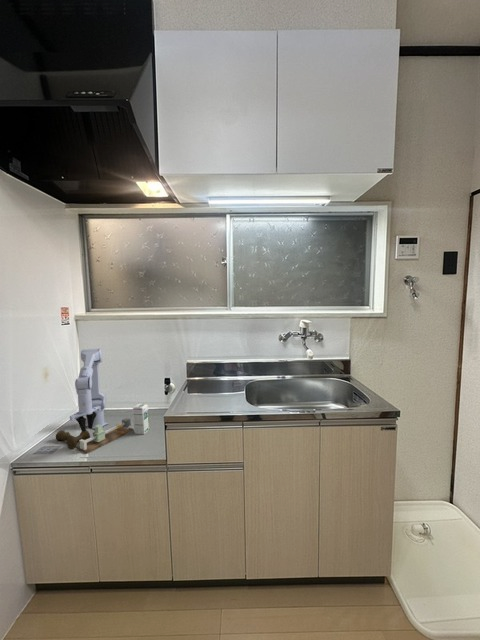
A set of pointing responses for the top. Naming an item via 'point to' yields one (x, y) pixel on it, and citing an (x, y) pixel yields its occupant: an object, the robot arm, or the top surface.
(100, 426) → the sleeve
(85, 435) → the kendama
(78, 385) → the robot arm
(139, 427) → the syrup box
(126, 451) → the top surface
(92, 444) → the board
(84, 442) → the linear slide rail
